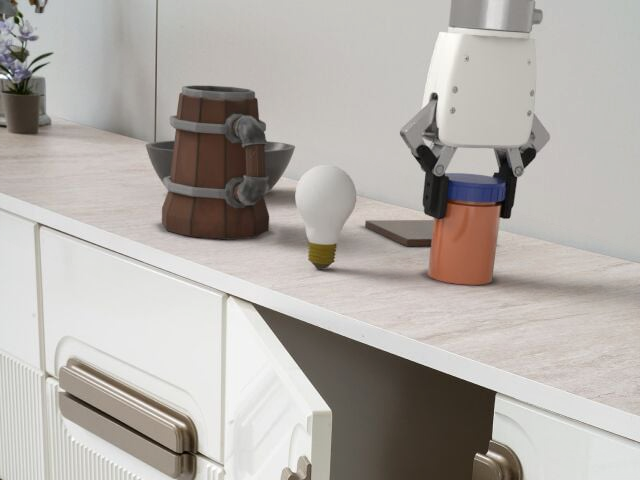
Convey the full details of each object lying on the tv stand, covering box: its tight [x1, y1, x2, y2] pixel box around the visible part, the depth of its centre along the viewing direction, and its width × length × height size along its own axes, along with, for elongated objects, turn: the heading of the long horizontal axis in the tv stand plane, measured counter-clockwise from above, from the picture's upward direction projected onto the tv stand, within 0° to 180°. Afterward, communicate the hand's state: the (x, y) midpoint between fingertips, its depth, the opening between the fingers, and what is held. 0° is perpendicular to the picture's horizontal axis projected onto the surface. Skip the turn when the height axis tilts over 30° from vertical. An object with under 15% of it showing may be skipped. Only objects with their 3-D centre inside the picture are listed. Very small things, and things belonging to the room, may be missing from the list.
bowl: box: [145, 139, 296, 196], centre depth 148 cm, size 12×22×6 cm, turn 130°
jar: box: [427, 198, 502, 286], centre depth 110 cm, size 6×6×9 cm
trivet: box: [364, 219, 434, 247], centre depth 131 cm, size 11×11×1 cm
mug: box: [161, 84, 270, 240], centre depth 122 cm, size 16×12×15 cm
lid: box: [445, 172, 506, 202], centre depth 109 cm, size 7×7×2 cm
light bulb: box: [294, 164, 357, 270], centre depth 109 cm, size 6×6×10 cm
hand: (467, 214), depth 110 cm, fingers closed on lid, 6 cm apart
